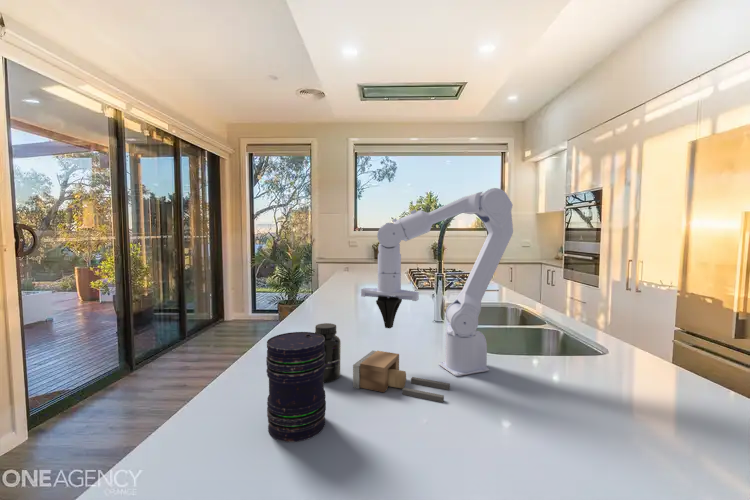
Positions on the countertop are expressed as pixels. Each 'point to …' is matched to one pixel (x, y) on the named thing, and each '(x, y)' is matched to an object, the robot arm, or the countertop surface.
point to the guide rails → (426, 394)
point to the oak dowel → (396, 378)
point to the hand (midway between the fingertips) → (389, 327)
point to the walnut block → (377, 370)
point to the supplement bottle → (330, 350)
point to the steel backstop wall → (357, 370)
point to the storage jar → (296, 386)
